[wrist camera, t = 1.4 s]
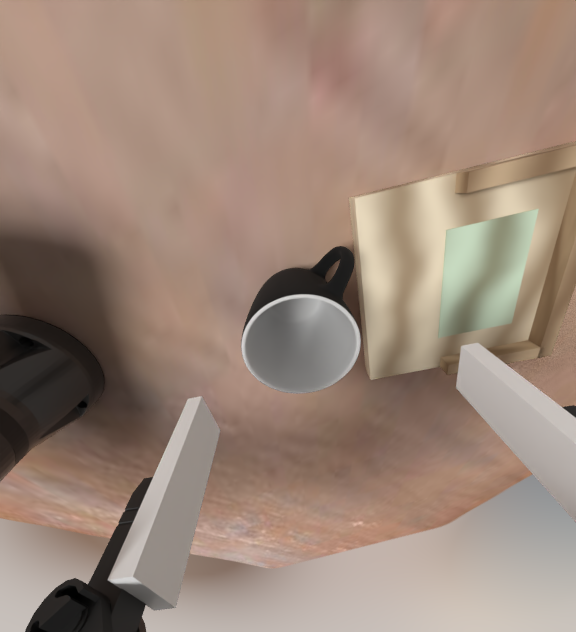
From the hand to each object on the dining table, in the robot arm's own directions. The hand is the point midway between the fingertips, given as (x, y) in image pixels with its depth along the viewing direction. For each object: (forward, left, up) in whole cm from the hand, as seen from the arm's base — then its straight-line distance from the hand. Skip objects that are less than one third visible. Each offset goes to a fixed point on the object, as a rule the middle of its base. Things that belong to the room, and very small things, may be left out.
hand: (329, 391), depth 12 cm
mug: (0, 0, -16) cm, 16 cm away
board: (+16, -3, -16) cm, 22 cm away
